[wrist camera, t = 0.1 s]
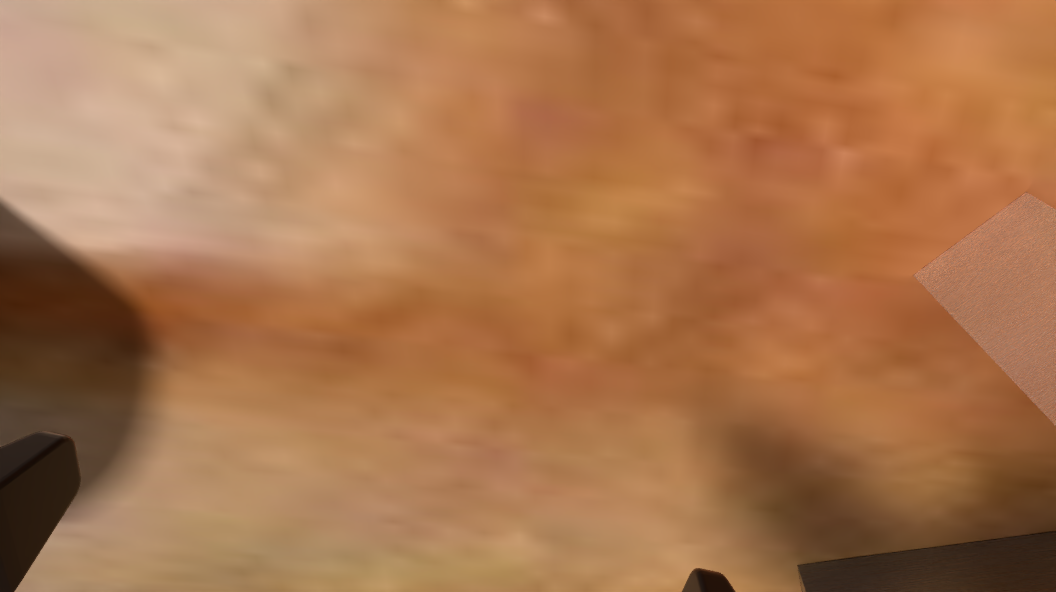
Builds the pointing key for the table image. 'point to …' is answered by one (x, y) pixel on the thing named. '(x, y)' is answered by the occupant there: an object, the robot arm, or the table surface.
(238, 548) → the table surface
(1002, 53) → the table surface
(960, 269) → the grey square peg
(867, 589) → the gray slotted board
